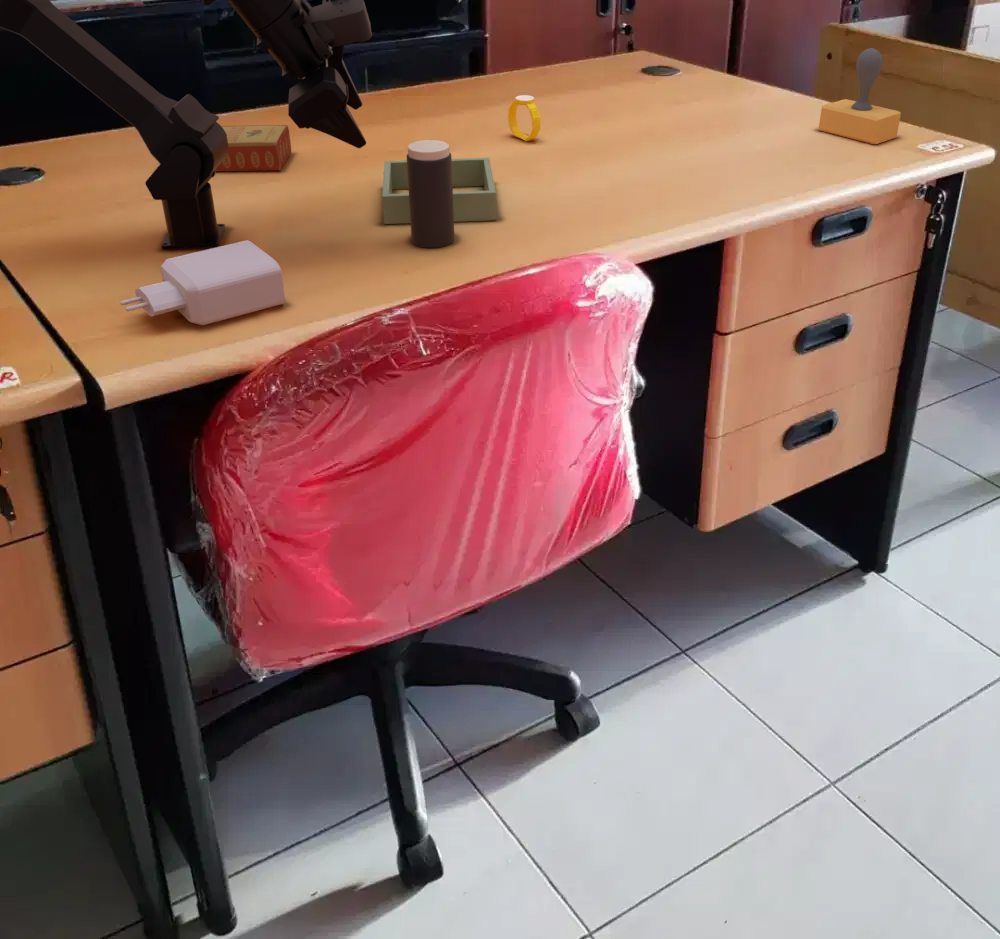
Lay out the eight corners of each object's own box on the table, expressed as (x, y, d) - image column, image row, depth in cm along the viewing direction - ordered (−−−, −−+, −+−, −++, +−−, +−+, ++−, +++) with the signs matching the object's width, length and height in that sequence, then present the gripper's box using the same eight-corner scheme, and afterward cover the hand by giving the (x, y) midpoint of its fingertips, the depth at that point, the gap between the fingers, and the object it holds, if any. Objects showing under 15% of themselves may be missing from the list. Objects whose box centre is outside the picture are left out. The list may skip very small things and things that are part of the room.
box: (496, 220, 130) (495, 192, 128) (384, 224, 130) (381, 196, 128) (489, 183, 142) (489, 157, 140) (386, 187, 141) (384, 160, 139)
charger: (113, 312, 110) (250, 278, 117) (143, 346, 103) (287, 307, 110) (103, 269, 107) (244, 236, 114) (134, 301, 101) (281, 264, 108)
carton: (280, 172, 147) (276, 140, 144) (164, 173, 147) (158, 141, 145) (292, 153, 154) (288, 122, 151) (181, 153, 154) (175, 123, 152)
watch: (504, 135, 160) (503, 94, 156) (518, 132, 161) (518, 91, 158) (529, 145, 156) (529, 103, 152) (544, 141, 157) (544, 99, 154)
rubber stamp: (897, 137, 157) (914, 51, 150) (874, 145, 154) (890, 57, 147) (840, 123, 163) (853, 39, 156) (816, 130, 160) (829, 45, 153)
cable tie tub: (455, 247, 123) (451, 151, 117) (411, 248, 123) (405, 153, 117) (453, 231, 128) (450, 138, 121) (411, 232, 127) (406, 139, 121)
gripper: (336, 4, 104) (426, 127, 114) (331, -65, 117) (412, 51, 127) (246, 68, 107) (342, 182, 117) (251, -6, 120) (336, 102, 130)
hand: (361, 125), depth 123 cm, fingers open, 9 cm apart
